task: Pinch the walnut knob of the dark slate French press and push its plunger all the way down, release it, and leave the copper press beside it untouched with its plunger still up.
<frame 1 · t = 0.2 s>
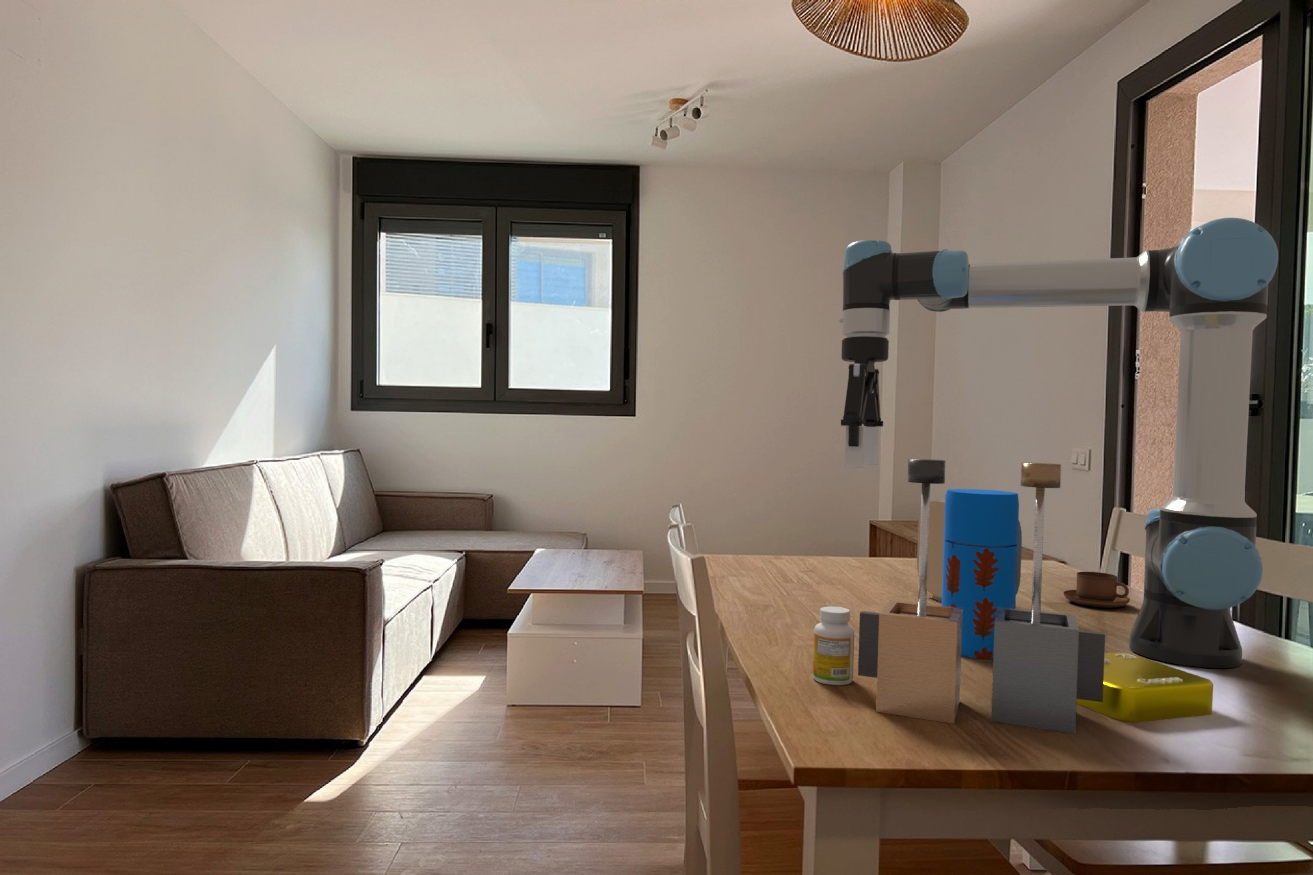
hand: (861, 466, 142), 28 cm above the table, tool pointing down, fingers open, 13 cm apart
element tile: (1123, 703, 113), on the table
copper plunger: (924, 543, 107), point 20 cm above the table, slide at 0.0 cm
slate plunger: (1038, 549, 105), point 20 cm above the table, slide at 0.0 cm
slate carafe: (1032, 715, 105), on the table
copper carafe: (918, 706, 107), on the table
thermos: (976, 651, 136), on the table
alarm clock: (965, 604, 171), on the table
supplement bottle: (832, 681, 118), on the table
cup and saucer: (1095, 605, 175), on the table
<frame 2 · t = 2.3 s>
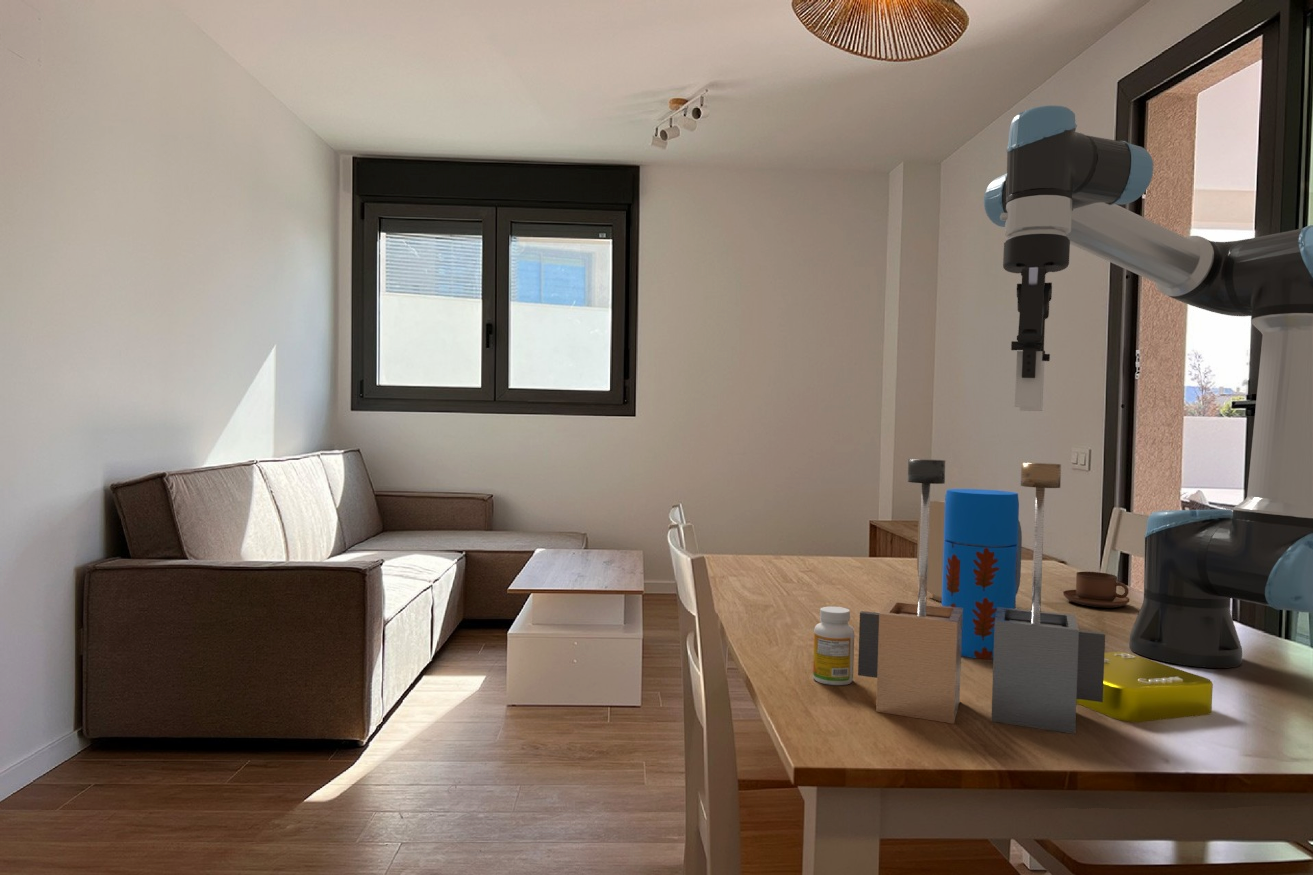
hand: (1029, 409, 107), 37 cm above the table, tool pointing down, fingers open, 13 cm apart
nothing on the table moved.
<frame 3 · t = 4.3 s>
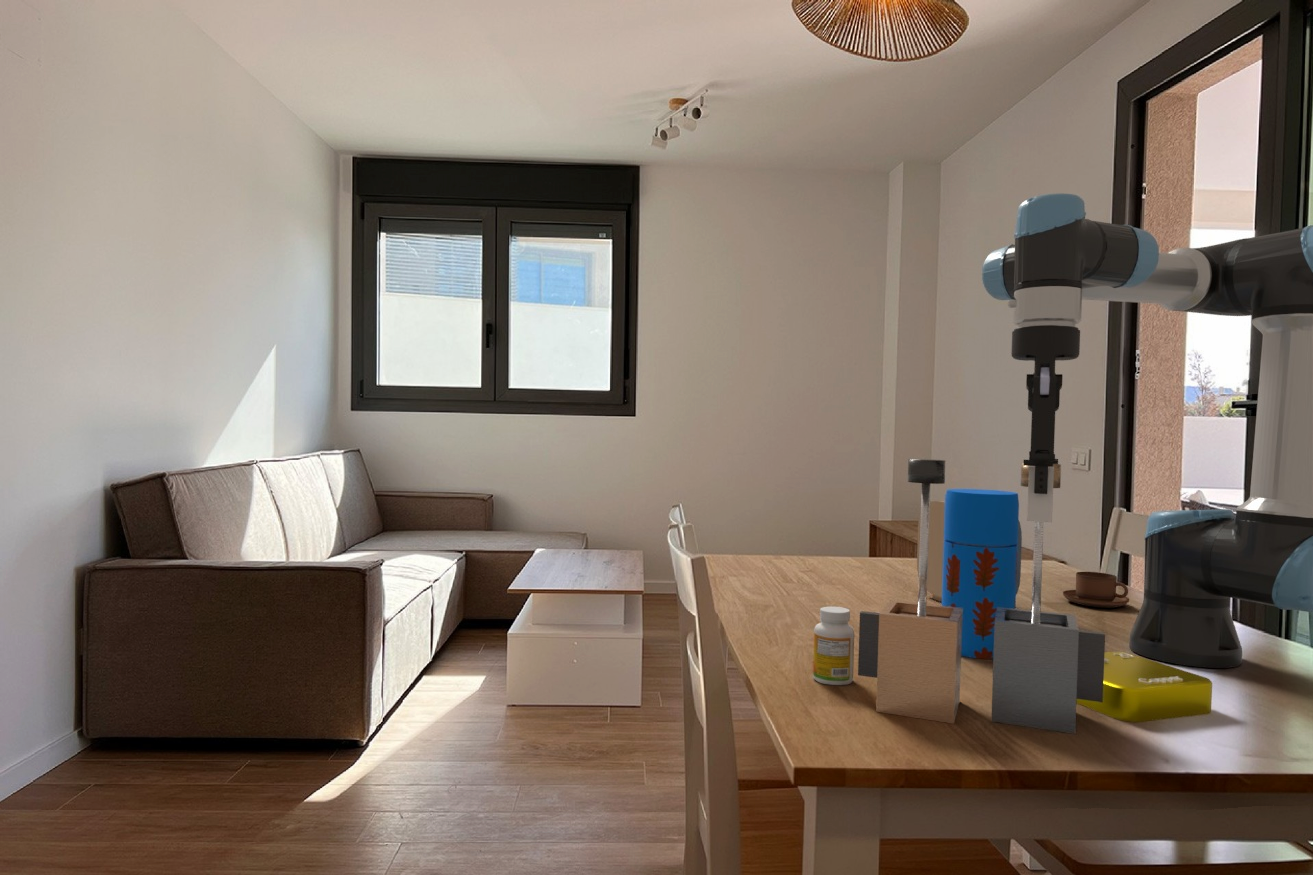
hand: (1039, 518, 105), 24 cm above the table, tool pointing down, fingers closed on slate plunger, 4 cm apart
slate plunger: (1038, 549, 105), point 20 cm above the table, slide at 0.0 cm, touching gripper
everything else where it was.
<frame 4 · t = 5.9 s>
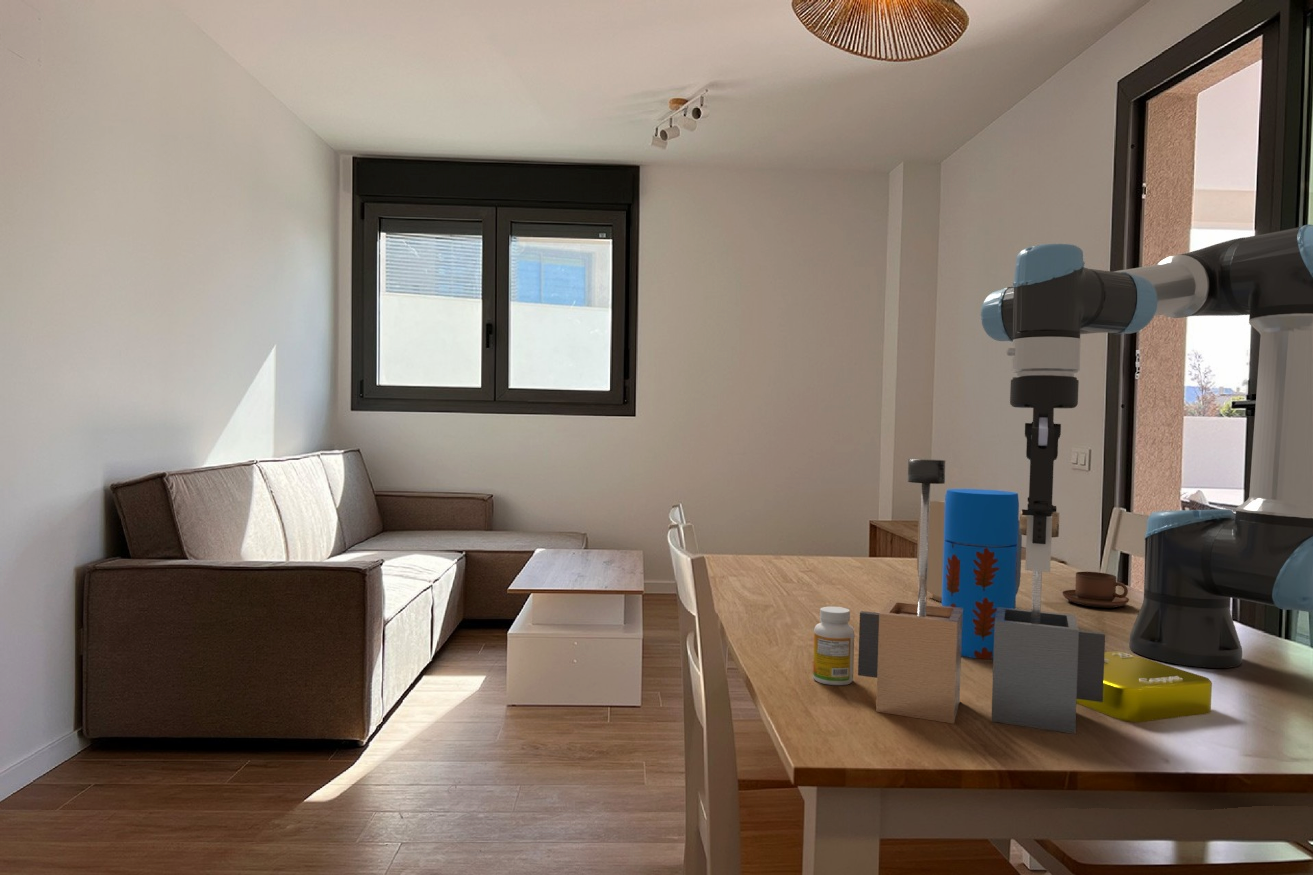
hand: (1037, 567, 105), 18 cm above the table, tool pointing down, fingers closed on slate plunger, 4 cm apart
slate plunger: (1036, 597, 105), point 15 cm above the table, slide at 5.9 cm, touching gripper
everything else where it was.
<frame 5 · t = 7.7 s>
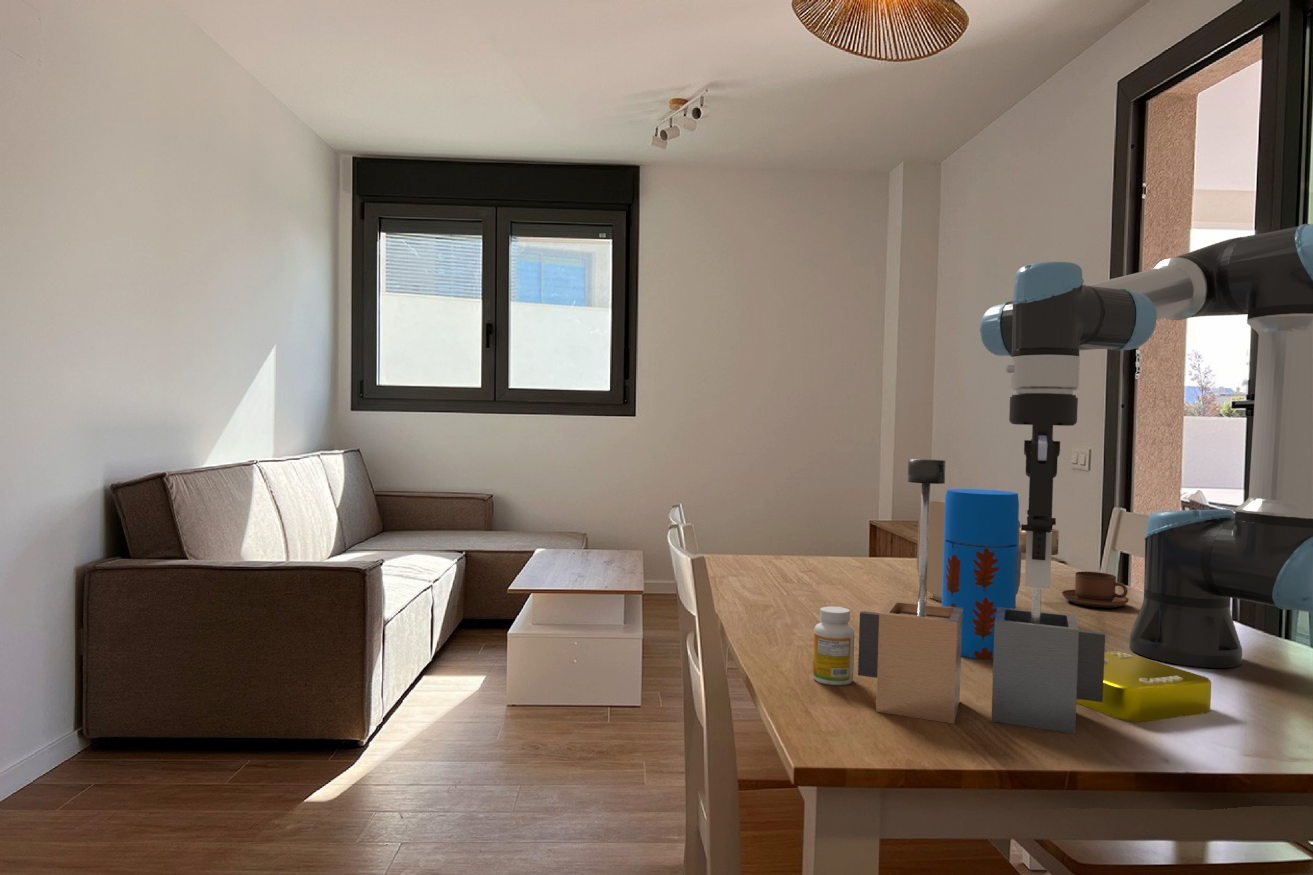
hand: (1037, 581, 105), 16 cm above the table, tool pointing down, fingers open, 7 cm apart
slate plunger: (1035, 614, 105), point 12 cm above the table, slide at 8.0 cm
everything else where it was.
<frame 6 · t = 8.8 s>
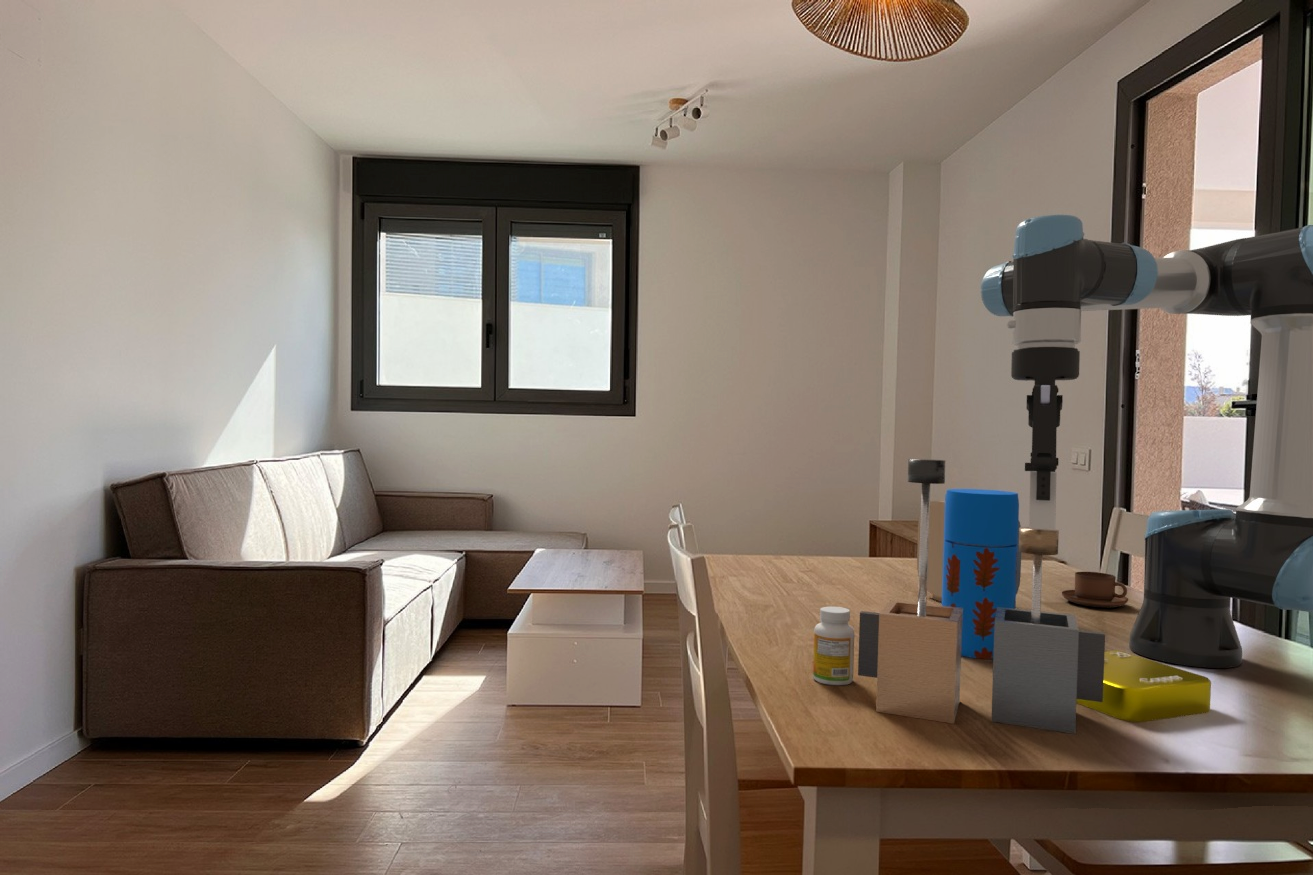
hand: (1041, 522, 105), 24 cm above the table, tool pointing down, fingers open, 13 cm apart
nothing on the table moved.
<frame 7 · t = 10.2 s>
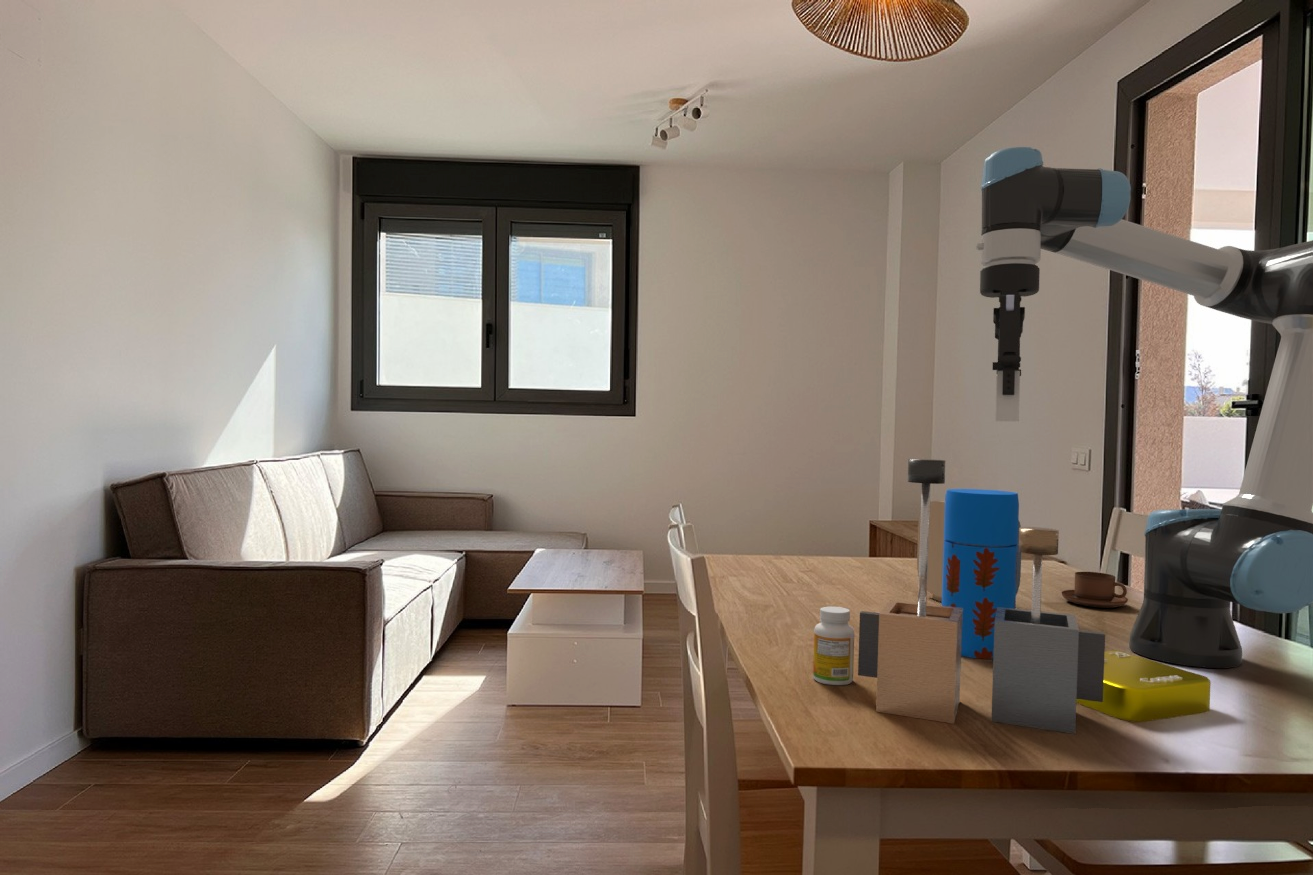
hand: (1006, 421, 118), 36 cm above the table, tool pointing down, fingers open, 13 cm apart
nothing on the table moved.
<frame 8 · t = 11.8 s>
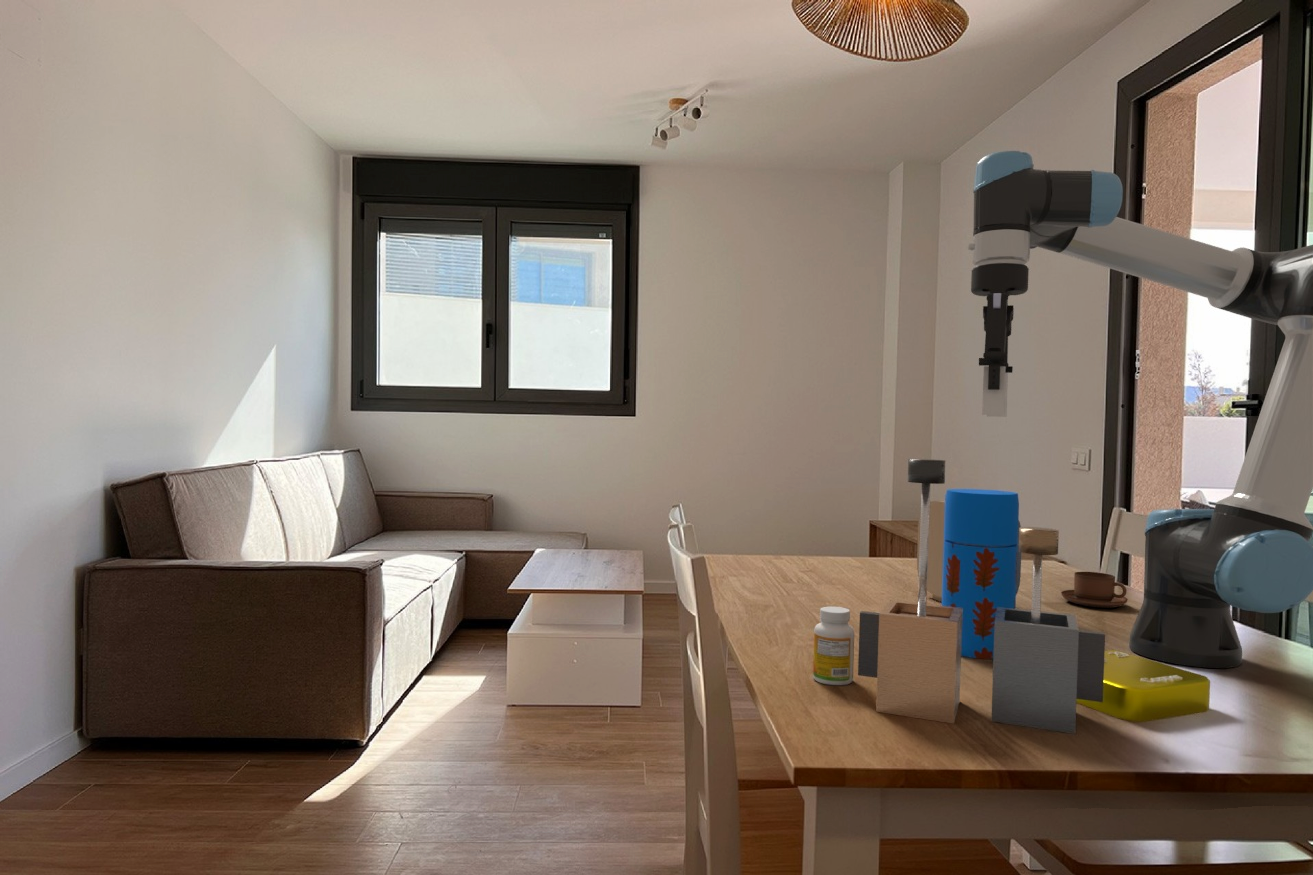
hand: (994, 416, 122), 37 cm above the table, tool pointing down, fingers open, 13 cm apart
nothing on the table moved.
at the end: slate plunger slide at 8.0 cm; copper plunger slide at 0.0 cm; the gripper is holding nothing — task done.
